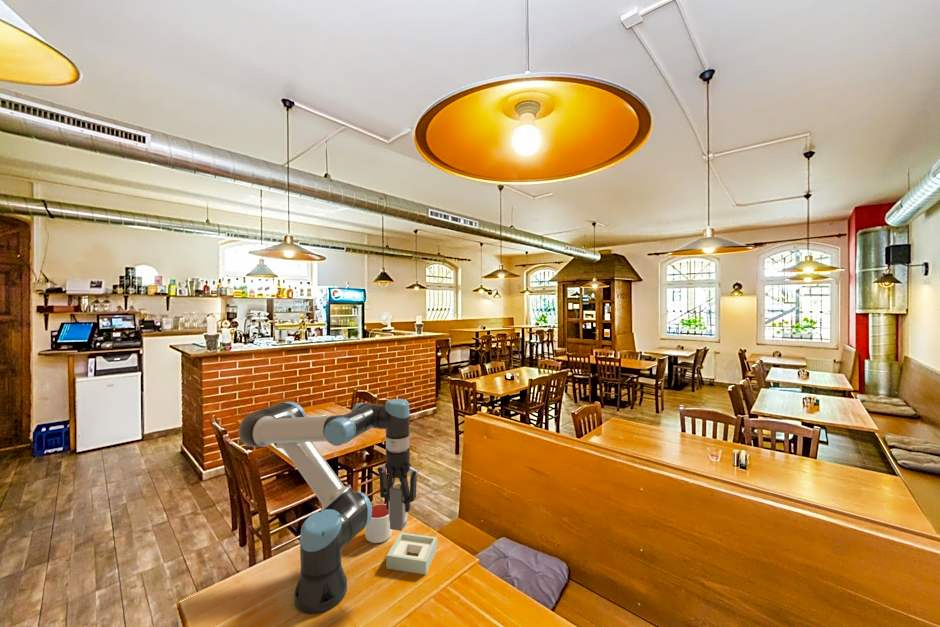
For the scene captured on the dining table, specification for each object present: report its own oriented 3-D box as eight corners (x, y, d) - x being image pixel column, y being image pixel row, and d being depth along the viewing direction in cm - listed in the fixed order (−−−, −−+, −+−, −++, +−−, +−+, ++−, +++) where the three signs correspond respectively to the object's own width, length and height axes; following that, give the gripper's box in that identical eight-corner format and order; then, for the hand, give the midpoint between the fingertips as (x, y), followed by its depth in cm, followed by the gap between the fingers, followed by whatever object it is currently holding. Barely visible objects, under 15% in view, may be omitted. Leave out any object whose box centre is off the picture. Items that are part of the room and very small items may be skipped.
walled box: (386, 568, 128) (386, 555, 128) (400, 544, 140) (400, 532, 140) (425, 574, 125) (426, 561, 125) (437, 549, 138) (437, 537, 138)
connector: (389, 529, 121) (389, 486, 120) (395, 521, 125) (394, 480, 124) (401, 530, 120) (401, 487, 119) (406, 523, 124) (406, 481, 123)
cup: (397, 534, 146) (397, 508, 146) (378, 548, 138) (378, 521, 138) (378, 525, 152) (378, 501, 151) (359, 538, 143) (359, 513, 143)
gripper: (367, 450, 120) (368, 522, 120) (418, 455, 116) (418, 530, 116) (379, 441, 127) (379, 510, 128) (427, 446, 123) (427, 517, 124)
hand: (398, 519), depth 122 cm, fingers closed on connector, 4 cm apart
